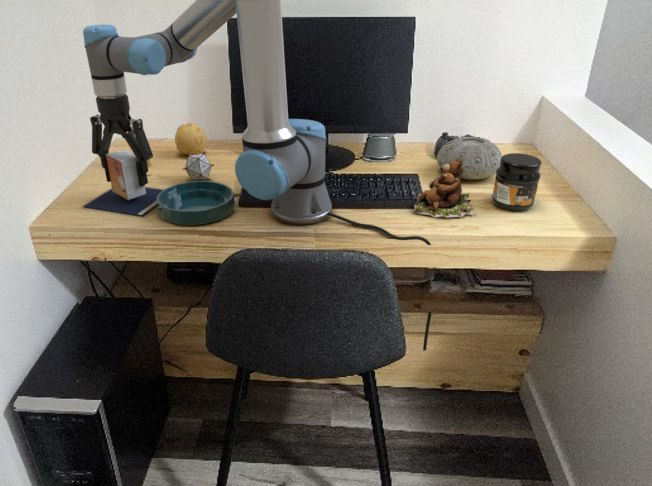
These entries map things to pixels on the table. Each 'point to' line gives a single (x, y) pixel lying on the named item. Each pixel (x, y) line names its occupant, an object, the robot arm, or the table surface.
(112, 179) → the small box
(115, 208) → the book
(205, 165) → the game die
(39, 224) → the table surface
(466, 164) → the decorative shell
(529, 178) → the supplement container
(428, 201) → the bear figurine
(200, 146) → the stress ball
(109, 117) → the robot arm
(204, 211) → the bowl
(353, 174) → the table surface
